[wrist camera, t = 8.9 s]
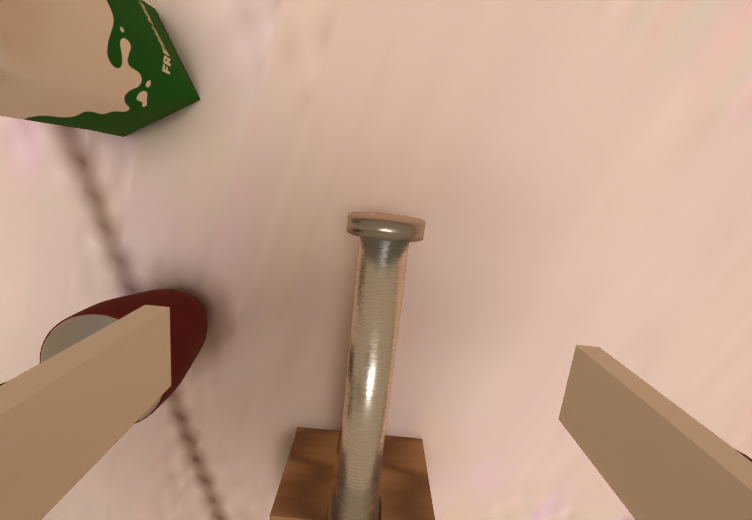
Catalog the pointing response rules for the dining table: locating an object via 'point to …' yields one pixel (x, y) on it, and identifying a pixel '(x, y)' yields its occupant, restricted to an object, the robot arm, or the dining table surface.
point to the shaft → (371, 356)
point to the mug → (184, 313)
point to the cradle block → (319, 478)
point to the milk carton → (89, 64)
